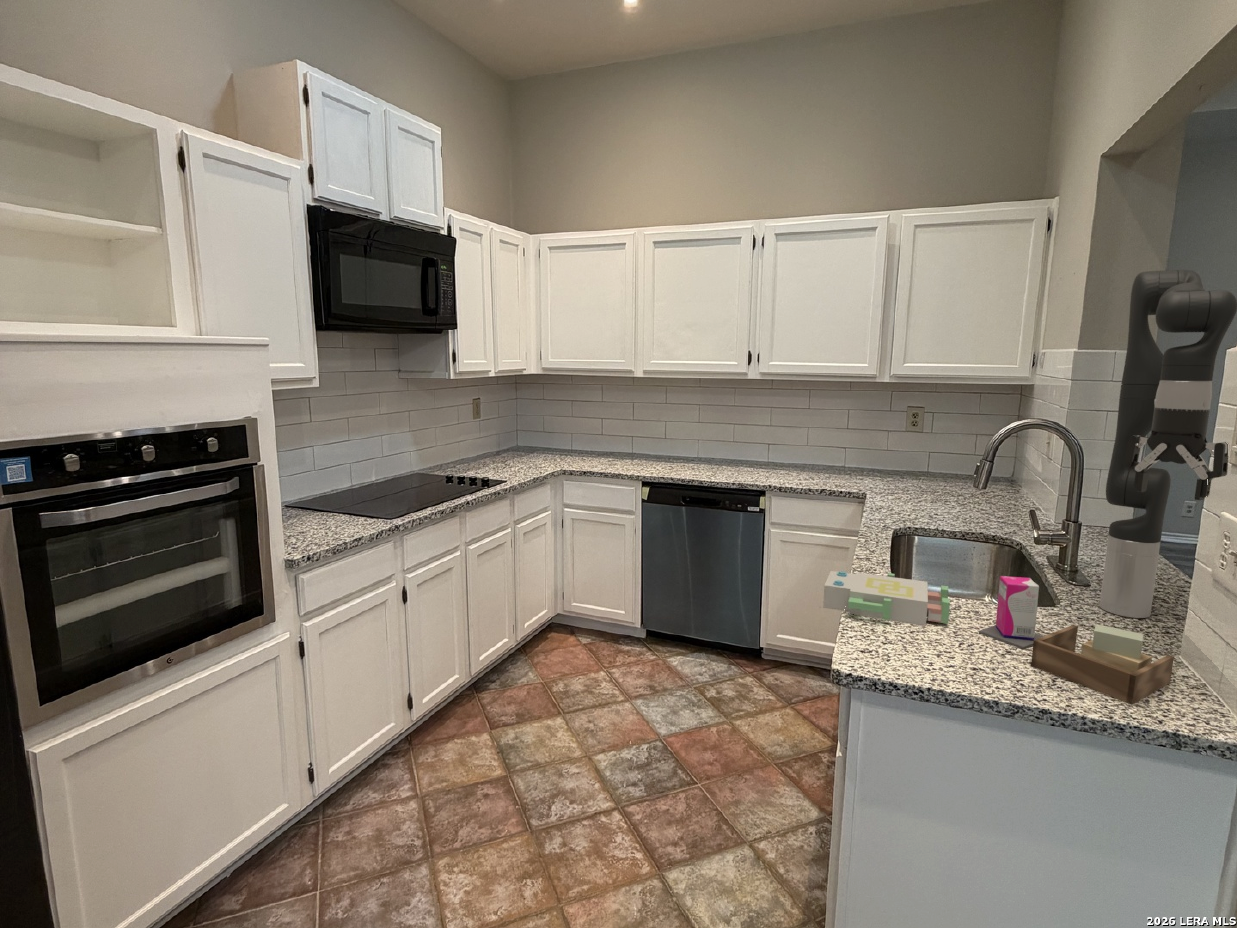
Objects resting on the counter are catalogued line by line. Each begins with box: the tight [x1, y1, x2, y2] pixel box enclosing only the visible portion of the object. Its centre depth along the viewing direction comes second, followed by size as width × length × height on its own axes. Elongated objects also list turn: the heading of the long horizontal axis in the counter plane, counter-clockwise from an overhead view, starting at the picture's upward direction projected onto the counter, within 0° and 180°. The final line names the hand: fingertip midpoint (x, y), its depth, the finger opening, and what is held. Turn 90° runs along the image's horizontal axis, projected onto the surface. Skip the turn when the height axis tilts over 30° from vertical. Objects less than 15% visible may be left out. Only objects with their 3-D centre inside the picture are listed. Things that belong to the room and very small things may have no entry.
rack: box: [1030, 624, 1175, 705], centre depth 117 cm, size 14×16×5 cm
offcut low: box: [1080, 639, 1153, 673], centre depth 120 cm, size 5×9×4 cm, turn 30°
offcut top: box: [1092, 623, 1144, 660], centre depth 119 cm, size 4×7×4 cm, turn 51°
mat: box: [978, 624, 1045, 650], centre depth 134 cm, size 9×9×1 cm
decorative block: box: [822, 570, 951, 627], centre depth 149 cm, size 26×6×20 cm
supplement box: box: [995, 575, 1040, 640], centre depth 133 cm, size 6×6×12 cm
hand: (1169, 495), depth 118 cm, fingers open, 8 cm apart
